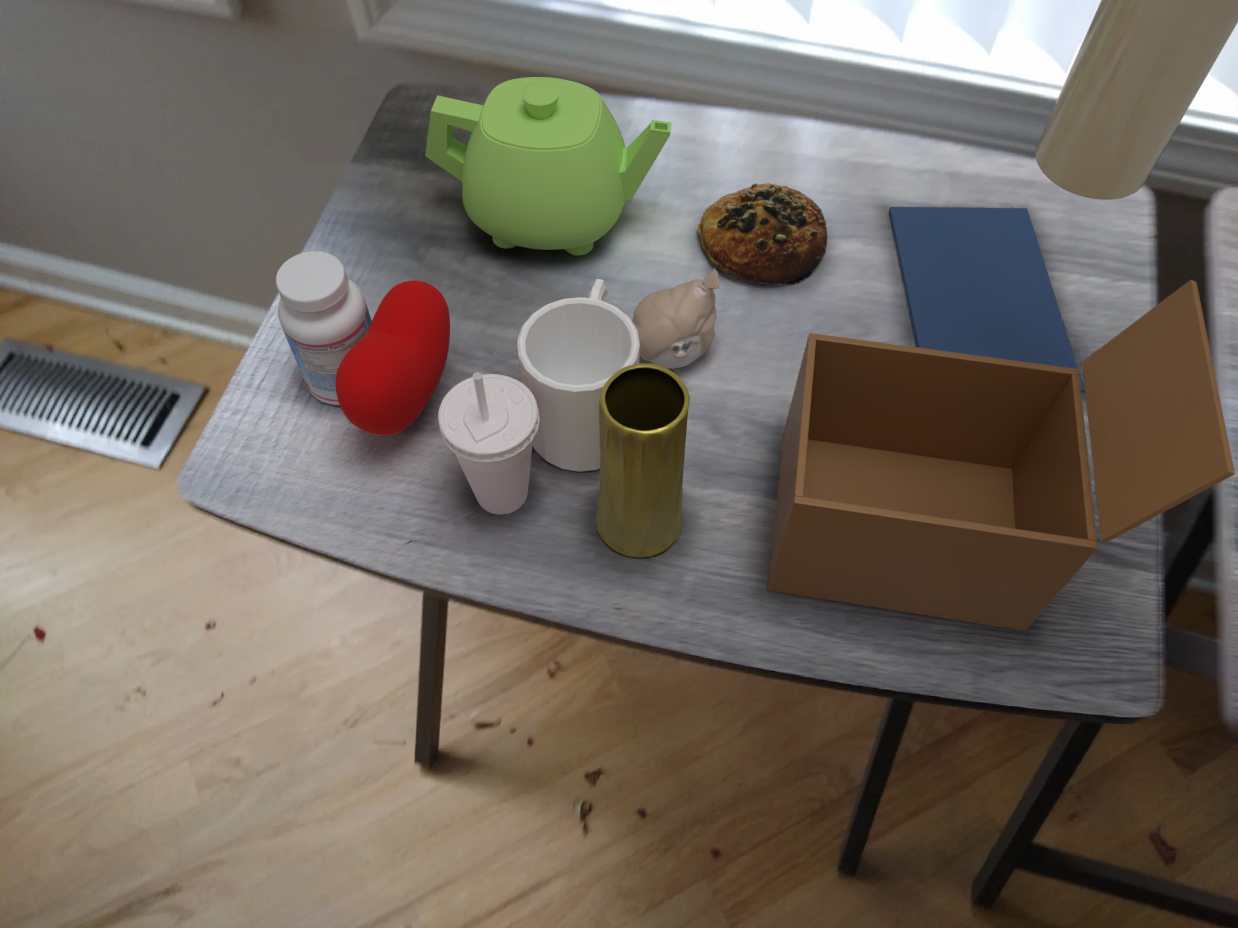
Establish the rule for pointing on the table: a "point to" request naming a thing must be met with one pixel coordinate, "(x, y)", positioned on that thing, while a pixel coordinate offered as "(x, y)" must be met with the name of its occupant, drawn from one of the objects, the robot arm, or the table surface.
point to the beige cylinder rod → (1130, 91)
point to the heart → (396, 360)
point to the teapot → (542, 162)
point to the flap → (1155, 415)
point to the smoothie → (492, 437)
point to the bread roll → (765, 234)
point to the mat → (979, 284)
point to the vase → (641, 459)
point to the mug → (574, 372)
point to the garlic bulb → (677, 322)
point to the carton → (932, 482)
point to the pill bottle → (320, 317)
